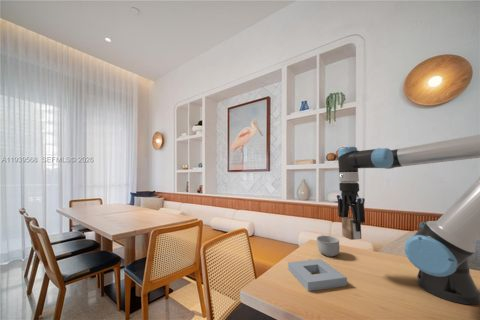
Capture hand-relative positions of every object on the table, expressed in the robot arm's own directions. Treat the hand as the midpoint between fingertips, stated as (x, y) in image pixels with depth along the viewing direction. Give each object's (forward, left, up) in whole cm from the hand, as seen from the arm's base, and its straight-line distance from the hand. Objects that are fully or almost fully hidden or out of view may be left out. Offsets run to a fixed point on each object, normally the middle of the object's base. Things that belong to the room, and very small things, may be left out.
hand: (351, 236), depth 82 cm
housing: (0, +18, -15) cm, 23 cm away
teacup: (+20, -2, -15) cm, 25 cm away
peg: (0, 0, 0) cm, 0 cm away
